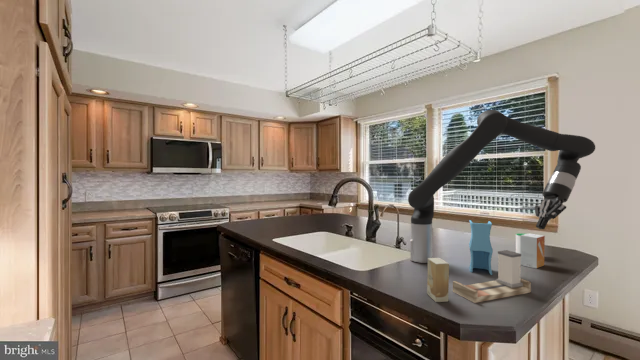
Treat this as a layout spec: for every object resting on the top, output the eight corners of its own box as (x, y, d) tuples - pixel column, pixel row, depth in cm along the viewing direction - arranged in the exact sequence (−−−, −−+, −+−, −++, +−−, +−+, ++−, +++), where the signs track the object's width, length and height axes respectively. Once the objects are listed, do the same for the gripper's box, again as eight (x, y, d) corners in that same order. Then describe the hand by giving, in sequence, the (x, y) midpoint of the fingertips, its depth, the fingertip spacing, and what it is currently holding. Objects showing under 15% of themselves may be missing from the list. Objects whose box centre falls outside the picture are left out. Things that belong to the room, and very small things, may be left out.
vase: (490, 269, 121) (490, 221, 120) (492, 275, 113) (492, 224, 113) (469, 266, 124) (469, 220, 124) (470, 272, 117) (470, 223, 116)
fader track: (474, 302, 89) (474, 291, 89) (452, 291, 98) (452, 281, 98) (530, 292, 97) (530, 281, 97) (505, 282, 105) (505, 273, 105)
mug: (532, 253, 143) (532, 232, 143) (548, 258, 135) (548, 236, 135) (511, 255, 141) (511, 233, 141) (525, 259, 133) (526, 237, 133)
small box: (537, 269, 120) (537, 237, 120) (519, 265, 125) (519, 235, 125) (544, 265, 124) (545, 235, 124) (527, 261, 130) (528, 233, 130)
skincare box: (426, 294, 96) (426, 257, 96) (439, 293, 96) (439, 257, 96) (436, 302, 90) (436, 263, 89) (449, 302, 90) (449, 263, 90)
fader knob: (512, 287, 96) (512, 255, 96) (495, 281, 102) (496, 251, 101) (523, 285, 98) (523, 254, 97) (506, 279, 103) (506, 249, 103)
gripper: (584, 189, 99) (564, 234, 97) (555, 194, 112) (536, 233, 110) (563, 179, 100) (543, 222, 98) (536, 184, 113) (518, 223, 111)
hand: (539, 228), depth 104 cm, fingers closed
